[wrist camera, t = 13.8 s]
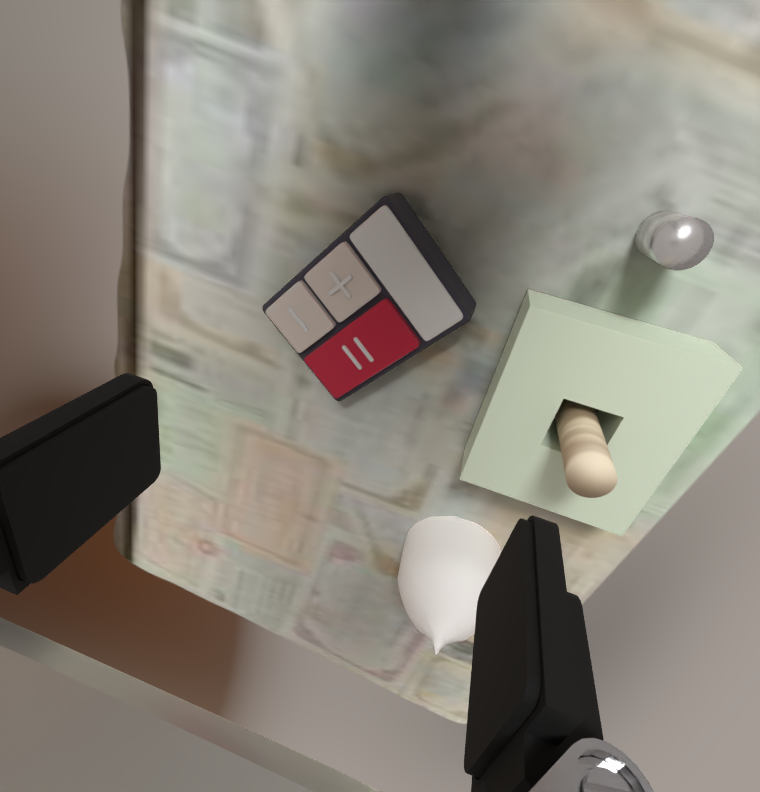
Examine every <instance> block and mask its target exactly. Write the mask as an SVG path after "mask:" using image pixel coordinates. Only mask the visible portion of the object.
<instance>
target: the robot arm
mask: <svg viewBox="0 0 760 792" xmlns="http://www.w3.org/2000/svg"><path fill="white" fill-rule="evenodd" d="M160 470H161V464H160V444H159V425H158V406H157V392H156V390H155V389H154V388H153V385H152V383H151V382H150V381H149V380H146V379H144V378H141V377H138V376H135V375H132V374H129V373H125V374H122V375H120V376H118V377H116V378H114V379H112V380H110V381H109V382H107V383H105V384H103V385H101V386H99V387H97V388H95V389H93V390H92V391H89V392H87V393H86V394H84V395H82V396H80V397H78V398H76V399H74V400H72V401H70V402H68V403H66V404H64V405H63V406H61V407H59V408H57V409H55V410H53V411H51V412H49V413H47V414H46V415H43V416H42V417H40V418H38V419H36V420H34V421H32V422H30V423H28V424H26V425H24V426H22V427H20V428H19V429H17V430H15V431H13V432H11V433H9V434H7V435H5V436H3V437H1V438H0V588H2V589H5V590H7V591H9V592H11V593H14V594H16V595H18V594H19V593H20V592H21V591H22V590H24V589H25V588H26V587H27V586H28V585H29V584H31V583H36V582H38V581H40V580H42V579H43V578H44V577H45V576H47V575H48V574H49V573H50V572H51V571H52V570H54V569H55V568H56V567H57V566H58V565H59V564H60V563H62V562H63V561H64V560H65V559H66V558H67V557H68V556H70V555H71V554H72V553H73V552H74V551H75V550H77V549H78V548H79V547H80V546H81V545H82V544H84V543H85V542H86V541H87V540H88V539H89V538H90V537H92V536H93V535H94V534H95V533H96V532H97V531H98V530H99V529H101V528H102V527H103V526H104V525H105V524H107V523H108V522H109V521H110V520H111V519H112V518H113V517H115V516H116V515H117V514H118V513H119V512H120V511H121V510H123V509H124V508H125V507H126V506H127V505H128V504H130V503H131V502H132V501H133V500H134V499H135V498H136V497H138V496H139V495H140V494H141V493H142V492H143V491H145V490H146V489H147V488H148V487H149V486H150V485H151V484H153V483H154V482H155V481H156V479H157V478H158V476H159V474H160ZM464 770H465V772H466V773H468V774H470V775H472V788H471V792H653V789H652V787H651V785H650V783H649V782H648V780H647V779H646V777H645V776H644V775H643V773H642V772H641V771H640V769H639V768H638V767H637V765H636V764H635V763H634V762H633V761H632V760H631V759H630V758H629V757H628V756H626V754H624V753H623V752H622V751H621V750H619V749H618V748H616V747H615V746H613V745H612V744H610V743H608V742H606V741H604V740H603V735H602V728H601V722H600V715H599V709H598V703H597V696H596V690H595V684H594V678H593V671H592V665H591V659H590V652H589V647H588V640H587V634H586V628H585V621H584V615H583V608H582V604H581V601H580V599H579V597H578V596H577V595H574V594H571V593H569V592H567V589H566V581H565V574H564V566H563V558H562V550H561V543H560V535H559V528H558V525H557V524H555V523H553V522H550V521H547V520H544V519H541V518H538V517H535V516H530V517H529V518H528V520H525V519H522V518H521V519H519V521H518V522H517V524H516V526H515V528H514V530H513V531H512V533H511V535H510V537H509V539H508V541H507V543H506V545H505V546H504V548H503V550H502V552H501V554H500V556H499V558H498V560H497V561H496V563H495V565H494V567H493V569H492V571H491V573H490V575H489V577H488V578H487V580H486V582H485V584H484V586H483V588H482V590H481V592H480V595H479V598H478V602H477V610H476V623H475V635H474V647H473V659H472V671H471V683H470V695H469V708H468V720H467V733H466V744H465V756H464ZM0 792H381V791H379V790H377V789H375V788H373V787H370V786H368V785H366V784H364V783H362V782H360V781H358V780H356V779H354V778H352V777H350V776H347V775H346V774H343V773H341V772H339V771H337V770H335V769H333V768H331V767H329V766H327V765H324V764H322V763H320V762H318V761H316V760H314V759H311V758H309V757H307V756H305V755H303V754H301V753H298V752H296V751H294V750H291V749H290V748H287V747H285V746H283V745H281V744H279V743H277V742H274V741H272V740H270V739H268V738H266V737H264V736H261V735H259V734H257V733H255V732H253V731H250V730H248V729H246V728H244V727H242V726H239V725H237V724H235V723H233V722H231V721H229V720H226V719H224V718H222V717H220V716H218V715H216V714H213V713H211V712H209V711H207V710H204V709H202V708H200V707H198V706H196V705H193V704H191V703H189V702H187V701H185V700H182V699H180V698H178V697H176V696H173V695H171V694H169V693H167V692H165V691H163V690H160V689H158V688H156V687H154V686H152V685H149V684H147V683H145V682H143V681H141V680H138V679H136V678H134V677H132V676H129V675H127V674H125V673H122V672H121V671H118V670H116V669H114V668H112V667H109V666H107V665H105V664H103V663H100V662H98V661H96V660H94V659H92V658H89V657H87V656H85V655H83V654H81V653H78V652H76V651H74V650H72V649H70V648H67V647H65V646H63V645H61V644H58V643H56V642H54V641H52V640H49V639H47V638H45V637H43V636H40V635H38V634H36V633H34V632H31V631H29V630H27V629H25V628H22V627H20V626H18V625H15V624H13V623H11V622H9V621H7V620H4V619H2V618H0Z"/></svg>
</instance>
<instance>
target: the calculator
mask: <svg viewBox="0 0 760 792" xmlns="http://www.w3.org/2000/svg"><path fill="white" fill-rule="evenodd" d="M475 306H476V302H475V300H474V299H473V297H472V296H471V294H470V293H469V291H468V290H467V288H466V287H465V286H464V284H463V283H462V281H461V280H460V278H459V277H458V275H457V274H456V272H455V271H454V269H453V268H452V267H451V265H450V264H449V262H448V261H447V259H446V258H445V256H444V255H443V253H442V252H441V250H440V249H439V247H438V246H437V245H436V243H435V242H434V240H433V239H432V237H431V236H430V234H429V233H428V231H427V230H426V228H425V227H424V226H423V224H422V223H421V221H420V220H419V218H418V217H417V215H416V214H415V212H414V211H413V209H412V208H411V207H410V205H409V204H408V202H407V201H406V199H405V198H404V196H403V195H402V194H401V193H395V194H391V195H388V196H385V197H383V198H382V199H380V200H379V201H378V202H377V203H376V204H375V205H374V206H373V207H372V208H370V209H369V210H368V211H367V212H366V213H365V214H364V215H363V216H362V217H360V218H359V219H358V220H357V221H356V222H355V223H354V224H353V225H352V226H351V227H349V228H348V229H347V230H346V231H345V232H344V233H343V234H342V235H341V236H339V237H338V238H337V239H336V240H335V241H334V242H333V243H332V244H331V245H330V246H328V247H327V248H326V249H325V250H324V251H323V252H322V253H321V254H320V255H318V256H317V257H316V258H315V259H314V260H313V261H312V262H311V263H310V264H309V265H307V266H306V267H305V268H304V269H303V270H302V271H301V272H300V273H299V274H297V275H296V276H295V277H294V278H293V279H292V280H291V281H290V282H289V283H288V284H286V285H285V286H284V287H283V288H282V289H281V290H280V291H279V292H278V293H276V294H275V295H274V296H273V297H272V298H271V299H270V300H269V301H268V302H267V303H265V304H264V306H263V311H264V313H265V314H266V315H267V316H268V318H269V319H270V320H271V321H272V323H273V324H274V325H275V326H276V327H277V329H278V330H279V331H280V332H281V334H282V335H283V336H284V337H285V339H286V340H287V341H288V342H289V343H290V345H291V346H292V347H293V348H294V350H295V351H296V352H297V353H298V354H299V356H300V357H301V358H302V359H303V361H304V362H305V363H306V364H307V366H308V367H309V368H310V369H311V370H312V372H313V373H314V374H315V375H316V377H317V378H318V379H319V380H320V381H321V383H322V384H323V385H324V386H325V388H326V389H327V390H328V391H329V392H330V394H331V395H332V396H333V397H334V399H335V400H337V401H341V400H343V399H345V398H346V397H348V396H350V395H351V394H353V393H354V392H356V391H358V390H359V389H361V388H362V387H364V386H366V385H367V384H369V383H370V382H372V381H374V380H375V379H377V378H378V377H380V376H382V375H383V374H385V373H386V372H388V371H390V370H391V369H393V368H394V367H396V366H398V365H399V364H401V363H402V362H404V361H406V360H407V359H409V358H410V357H412V356H414V355H415V354H417V353H418V352H420V351H422V350H423V349H425V348H426V347H428V346H430V345H431V344H433V343H434V342H436V341H438V340H439V339H441V338H442V337H444V336H446V335H447V334H449V333H450V332H452V331H454V330H455V329H457V328H458V327H460V326H462V325H463V324H465V323H466V322H468V321H469V320H470V319H471V317H472V314H473V312H474V309H475Z"/></svg>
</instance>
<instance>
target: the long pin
mask: <svg viewBox="0 0 760 792" xmlns="http://www.w3.org/2000/svg"><path fill="white" fill-rule="evenodd" d="M555 418H556V424H557V430H558V436H559V442H560V448H561V454H562V459H563V465H564V471H565V477H566V482H567V485H568V487H569V488H570V490H571V491H572V492H574V493H575V494H577V495H579V496H582V497H586V498H598V497H602V496H604V495H607V494H608V493H610V492H611V491H612V490H613V489H614V488H615V486H616V484H617V480H618V477H617V473H616V470H615V467H614V464H613V461H612V459H611V456H610V453H609V450H608V447H607V444H606V441H605V438H604V435H603V432H602V429H601V426H600V423H599V420H598V417H597V415H596V412H595V409H594V408H592V407H589V406H586V405H583V404H580V403H576V402H573V401H570V400H567V399H563V401H562V403H561V405H560V407H559V409H558V411H557V413H556V415H555Z"/></svg>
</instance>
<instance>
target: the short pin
mask: <svg viewBox="0 0 760 792" xmlns="http://www.w3.org/2000/svg"><path fill="white" fill-rule="evenodd" d="M635 241H636V245H637V248H638V249H639V250H640V251H641V252H642V253H643V254H645V255H646V256H648V257H649V258H651V259H653V260H654V261H656V262H657V263H659V264H660V265H662V266H664V267H665V268H668V269H671V270H685V269H688V268H691V267H693V266H695V265H697V264H698V263H700V262H701V261H702V260H703V259H704V258H705V257H706V256H707V255H708V254H709V252H710V250H711V248H712V246H713V242H714V234H713V231H712V228H711V227H710V225H709V224H708V223H706V222H705V221H703V220H701V219H698V218H694V217H690V216H687V215H683V214H679V213H675V212H671V211H660V212H657V213H654V214H652V215H650V216H649V217H647V218H646V219H645V220H644V221H643V222H642V223H641V224H640V226H639V227H638V229H637V232H636V236H635Z"/></svg>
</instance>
